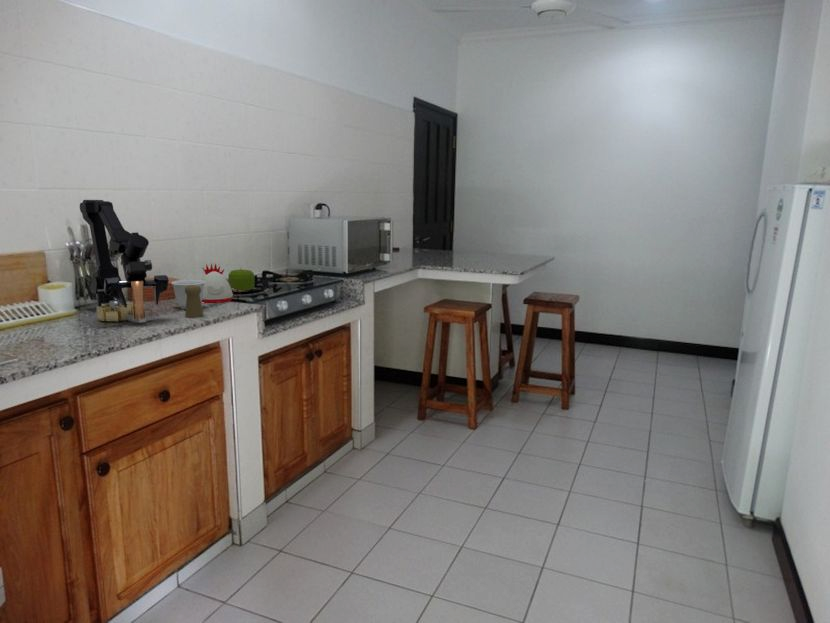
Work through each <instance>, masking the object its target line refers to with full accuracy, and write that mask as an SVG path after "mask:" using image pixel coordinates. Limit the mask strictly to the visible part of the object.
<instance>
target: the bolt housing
mask: <svg viewBox="0 0 830 623" xmlns="http://www.w3.org/2000/svg"><path fill="white" fill-rule="evenodd" d="M116 306H122V304H121V303H120V302H119V301H118V300H117V299H115V300H111V301H110V307H111V311H116ZM145 317H146V322H145V323H147V322H148V321H150V322H155V321H156V319H155V318H153V317H150V316H148V315H145ZM78 320H79V321H82V322H84V323H85V324H87V325H89V324H90V325H89V326H92V327H93V328H95V329H104V328H103V327H105V328H111V327H110V326H112V327H117V326H116V325H120V326H124V324H127V325H133V324H134V323H135V324H139V323H138V322H134V321H129V320H123V321H120V320H119V321H101V320H98V319H97V315H95V316H86V317H85V316H84V317H79V318H78ZM154 320H155V321H154ZM142 323H143V322H141V323H140V324H142ZM135 324H134V325H135Z"/></svg>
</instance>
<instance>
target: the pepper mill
mask: <svg viewBox="0 0 830 623" xmlns="http://www.w3.org/2000/svg"><path fill="white" fill-rule="evenodd" d="M185 293H186V294H187V300H186V310H185V311H184V312H185V314H184V317H185V318H187V317H188V318H187V319H197V318H196V317H199V318H202V316H203V317H204V312H203V306H202V303H201V300H200V295H199V294H200V293H201V288H200V286H198V285H188V286H186V287H185Z"/></svg>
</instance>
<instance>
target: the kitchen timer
mask: <svg viewBox="0 0 830 623" xmlns="http://www.w3.org/2000/svg"><path fill="white" fill-rule="evenodd" d="M202 269H203V272H204V273H205V275H204V277H203V278H202V279H201V280H204V281H205V282H206V283H205V284H204V288H203V299H202V302H204V303H203V304H208V303H215V304H224V303H223V302H226V303H229V302H228V301H231V300H232V298H233V299H234V293H233V292H232V290H231V287H230V284H229V281H228V278H226V277H225V276H224V275H223V274H224V271H225V268H223V269H222V271H221V266H220V265H219V266H218V267H217V264H216V263H214V267H213V264H212V263H210V268H209V266H208V265H207V264H205V268H204V267H203V266H202ZM231 302H232V301H231Z"/></svg>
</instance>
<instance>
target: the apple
mask: <svg viewBox="0 0 830 623" xmlns="http://www.w3.org/2000/svg"><path fill="white" fill-rule="evenodd" d="M227 281H228V282H229V284H230V287H231V288H234V289H239V290H249V289H253V288H254V289H255V274H254V272H253V271H252V270H249V269H242V267H240V269H233V270H231V271H230V272H229V273H228V278H227Z"/></svg>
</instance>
